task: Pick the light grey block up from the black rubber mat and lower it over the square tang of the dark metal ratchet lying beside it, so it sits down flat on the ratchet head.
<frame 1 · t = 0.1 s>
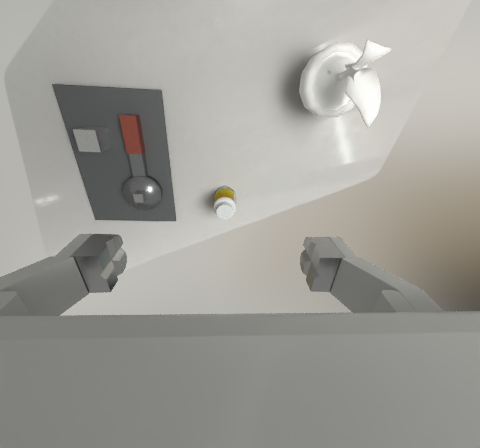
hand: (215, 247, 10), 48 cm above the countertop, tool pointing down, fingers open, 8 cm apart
potted plant: (317, 88, 49), on the countertop
ratchet: (145, 190, 58), resting on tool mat
light grey block: (100, 137, 51), point 1 cm above the countertop, touching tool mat
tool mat: (124, 163, 54), on the countertop
supplement bottle: (225, 195, 60), on the countertop
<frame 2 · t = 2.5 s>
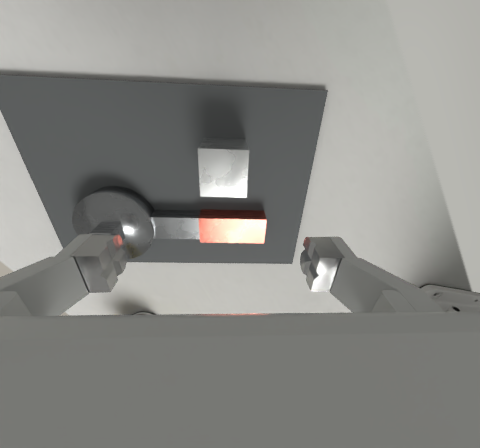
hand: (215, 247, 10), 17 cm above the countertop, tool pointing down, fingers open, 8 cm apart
ratchet: (122, 219, 28), resting on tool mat
light grey block: (225, 159, 25), point 1 cm above the countertop, touching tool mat
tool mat: (175, 189, 27), on the countertop
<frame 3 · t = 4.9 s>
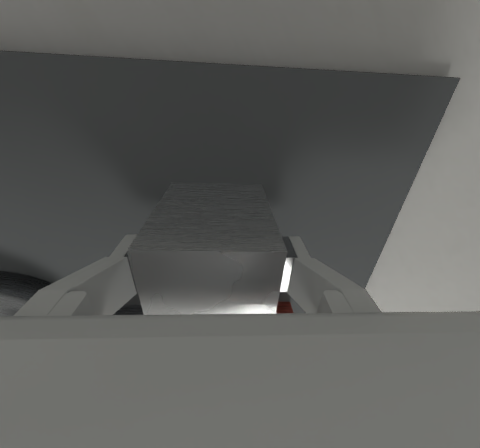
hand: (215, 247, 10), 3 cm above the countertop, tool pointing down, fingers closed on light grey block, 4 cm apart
ratchet: (28, 320, 15), resting on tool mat
light grey block: (217, 222, 12), point 1 cm above the countertop, touching gripper, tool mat
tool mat: (124, 270, 14), on the countertop
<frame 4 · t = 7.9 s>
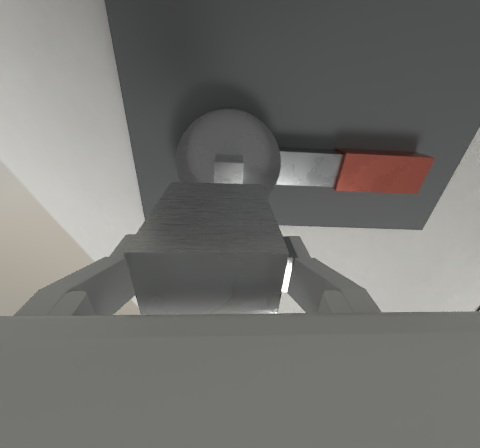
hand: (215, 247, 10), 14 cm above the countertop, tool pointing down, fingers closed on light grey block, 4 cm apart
ratchet: (229, 160, 21), resting on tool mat
light grey block: (217, 222, 12), point 12 cm above the countertop, touching gripper
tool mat: (307, 118, 20), on the countertop
when the fingers open (6 cm above the countertop, at t = 11.1 s): light grey block stays where it is, resting on ratchet.
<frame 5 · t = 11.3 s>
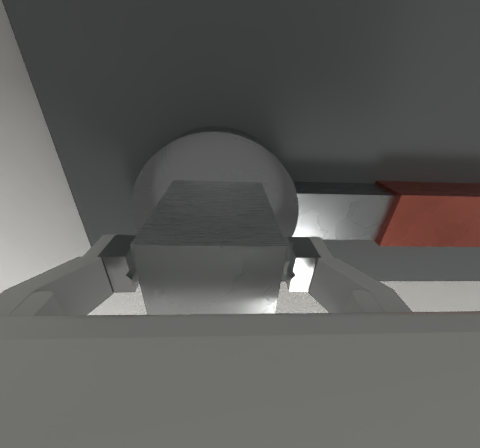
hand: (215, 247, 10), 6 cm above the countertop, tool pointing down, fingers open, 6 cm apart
ratchet: (218, 201, 14), resting on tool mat
light grey block: (218, 219, 12), point 3 cm above the countertop, touching ratchet
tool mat: (335, 139, 13), on the countertop
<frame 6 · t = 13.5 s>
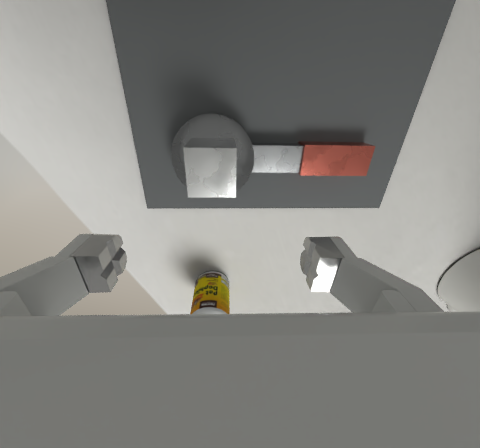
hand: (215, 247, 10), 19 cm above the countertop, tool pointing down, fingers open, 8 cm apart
ratchet: (214, 154, 26), resting on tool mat
light grey block: (213, 159, 24), point 3 cm above the countertop, touching ratchet
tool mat: (274, 118, 25), on the countertop
supplement bottle: (212, 281, 37), on the countertop
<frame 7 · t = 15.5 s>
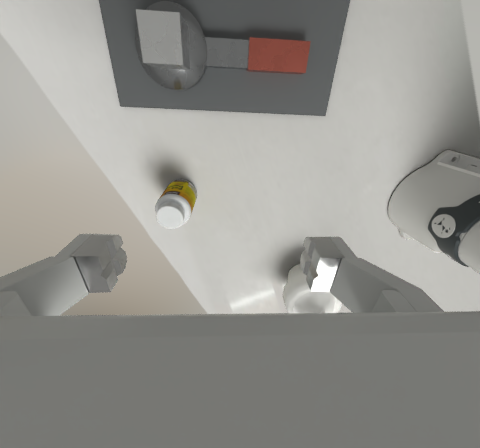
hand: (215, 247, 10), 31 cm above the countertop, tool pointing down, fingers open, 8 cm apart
potted plant: (298, 272, 53), on the countertop
ratchet: (175, 52, 30), resting on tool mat
light grey block: (172, 48, 28), point 3 cm above the countertop, touching ratchet
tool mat: (226, 18, 29), on the countertop
supplement bottle: (182, 192, 42), on the countertop
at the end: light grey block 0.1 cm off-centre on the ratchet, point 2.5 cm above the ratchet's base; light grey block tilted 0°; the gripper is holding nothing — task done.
